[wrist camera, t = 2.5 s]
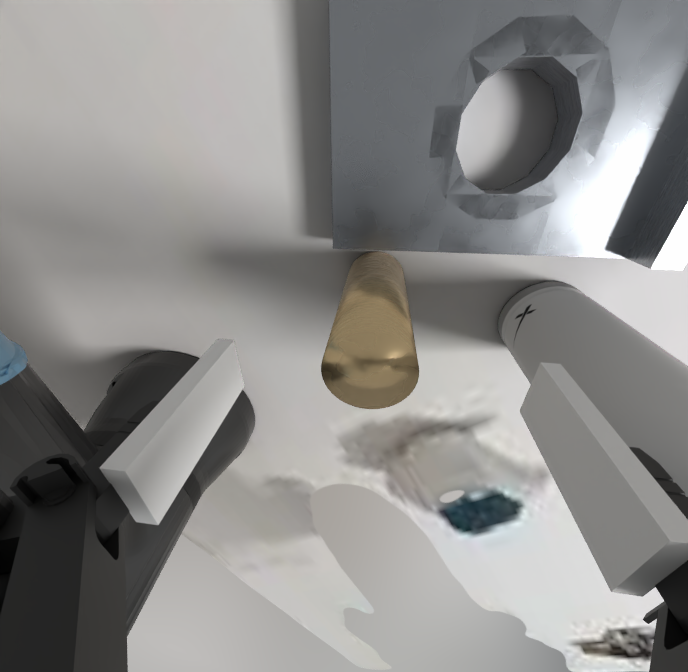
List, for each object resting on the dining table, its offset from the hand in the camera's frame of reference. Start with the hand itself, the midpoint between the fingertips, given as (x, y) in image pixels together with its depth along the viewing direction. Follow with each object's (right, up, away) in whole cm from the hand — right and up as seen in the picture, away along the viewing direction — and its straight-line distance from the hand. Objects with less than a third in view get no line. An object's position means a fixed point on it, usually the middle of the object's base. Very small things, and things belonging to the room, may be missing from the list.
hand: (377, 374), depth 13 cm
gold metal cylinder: (+1, +6, +10) cm, 12 cm away
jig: (+8, +14, +5) cm, 17 cm away
